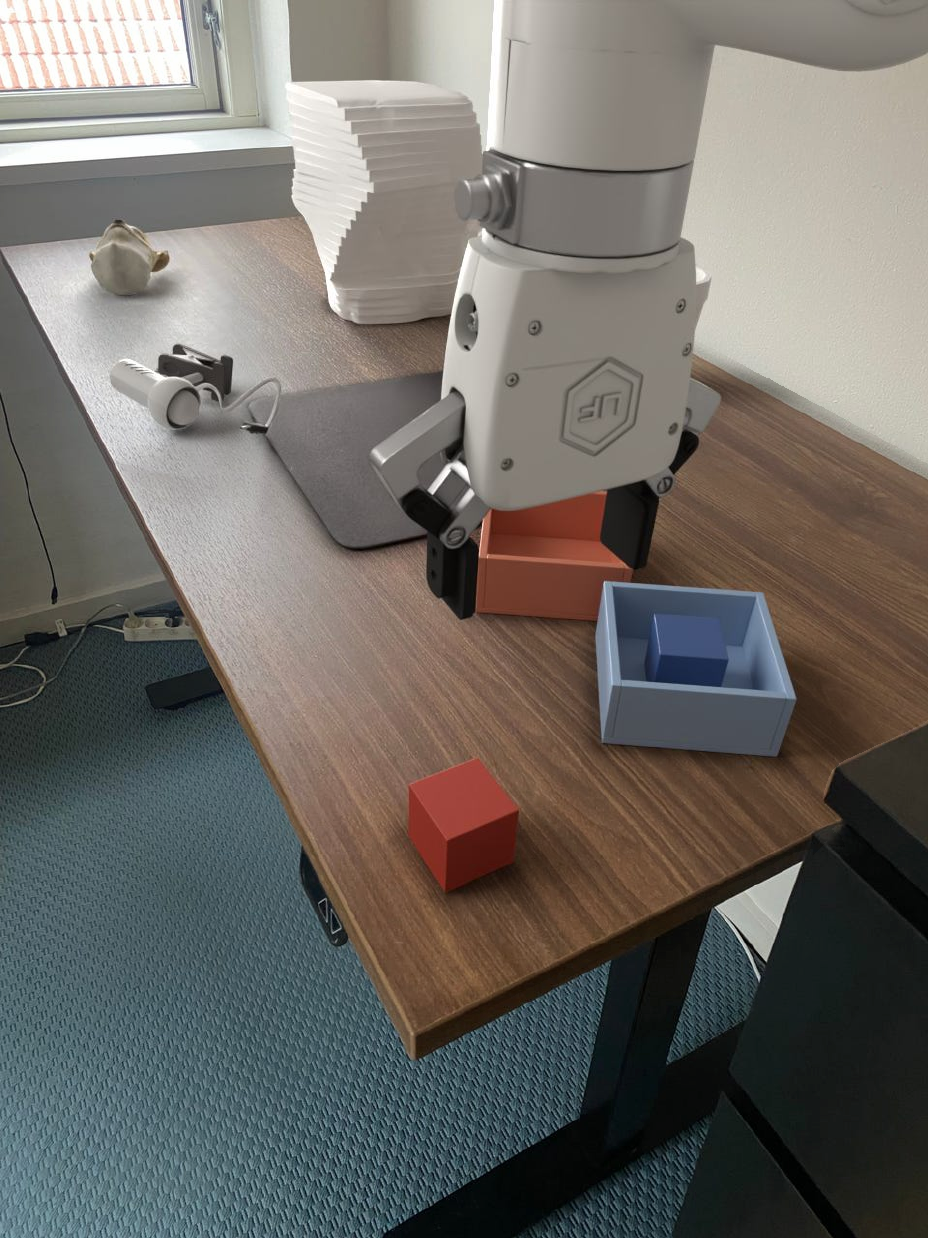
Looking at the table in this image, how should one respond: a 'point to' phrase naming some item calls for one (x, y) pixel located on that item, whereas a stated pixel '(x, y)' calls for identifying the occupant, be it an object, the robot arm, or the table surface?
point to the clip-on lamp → (183, 386)
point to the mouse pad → (351, 453)
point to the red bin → (547, 560)
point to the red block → (462, 823)
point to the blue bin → (689, 714)
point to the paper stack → (385, 192)
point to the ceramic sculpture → (125, 259)
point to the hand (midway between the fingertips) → (540, 578)
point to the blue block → (686, 651)
